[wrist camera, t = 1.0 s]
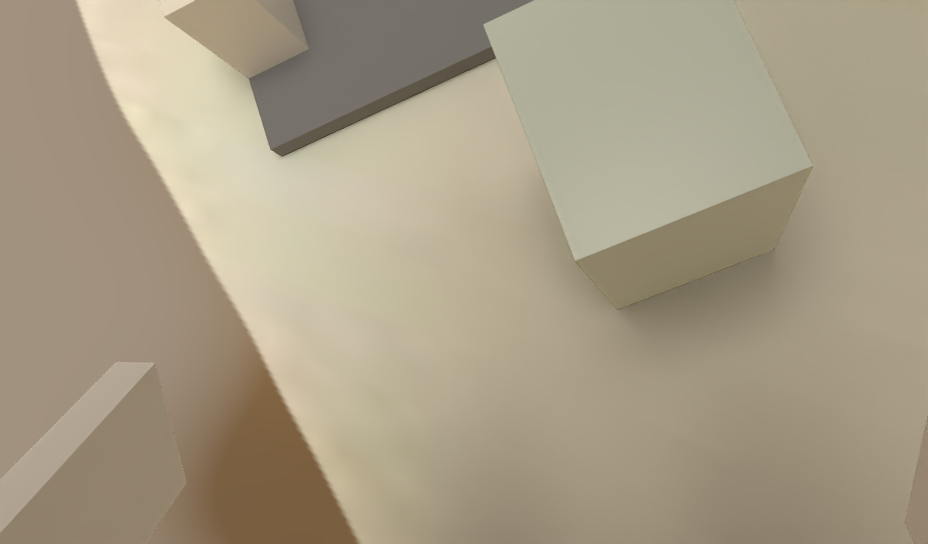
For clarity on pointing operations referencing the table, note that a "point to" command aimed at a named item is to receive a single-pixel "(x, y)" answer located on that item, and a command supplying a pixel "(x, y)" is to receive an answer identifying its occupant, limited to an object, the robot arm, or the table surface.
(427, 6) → the rail plate
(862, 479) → the table surface
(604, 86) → the block
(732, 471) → the table surface
